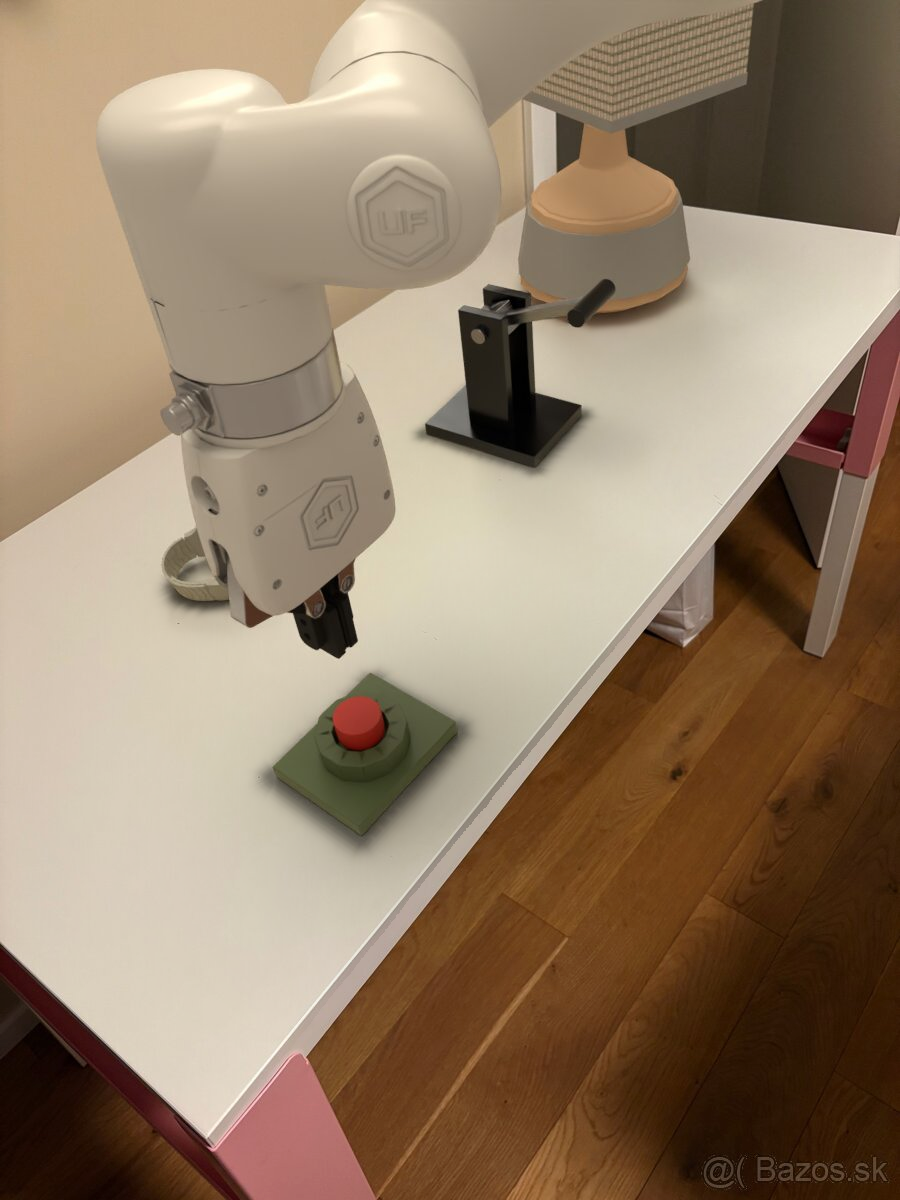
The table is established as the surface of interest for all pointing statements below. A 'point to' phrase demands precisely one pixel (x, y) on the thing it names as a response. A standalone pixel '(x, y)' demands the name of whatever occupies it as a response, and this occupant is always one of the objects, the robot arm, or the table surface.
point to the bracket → (501, 389)
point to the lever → (558, 307)
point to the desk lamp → (624, 160)
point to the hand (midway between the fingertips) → (330, 640)
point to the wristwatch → (176, 560)
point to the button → (359, 723)
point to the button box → (366, 756)
